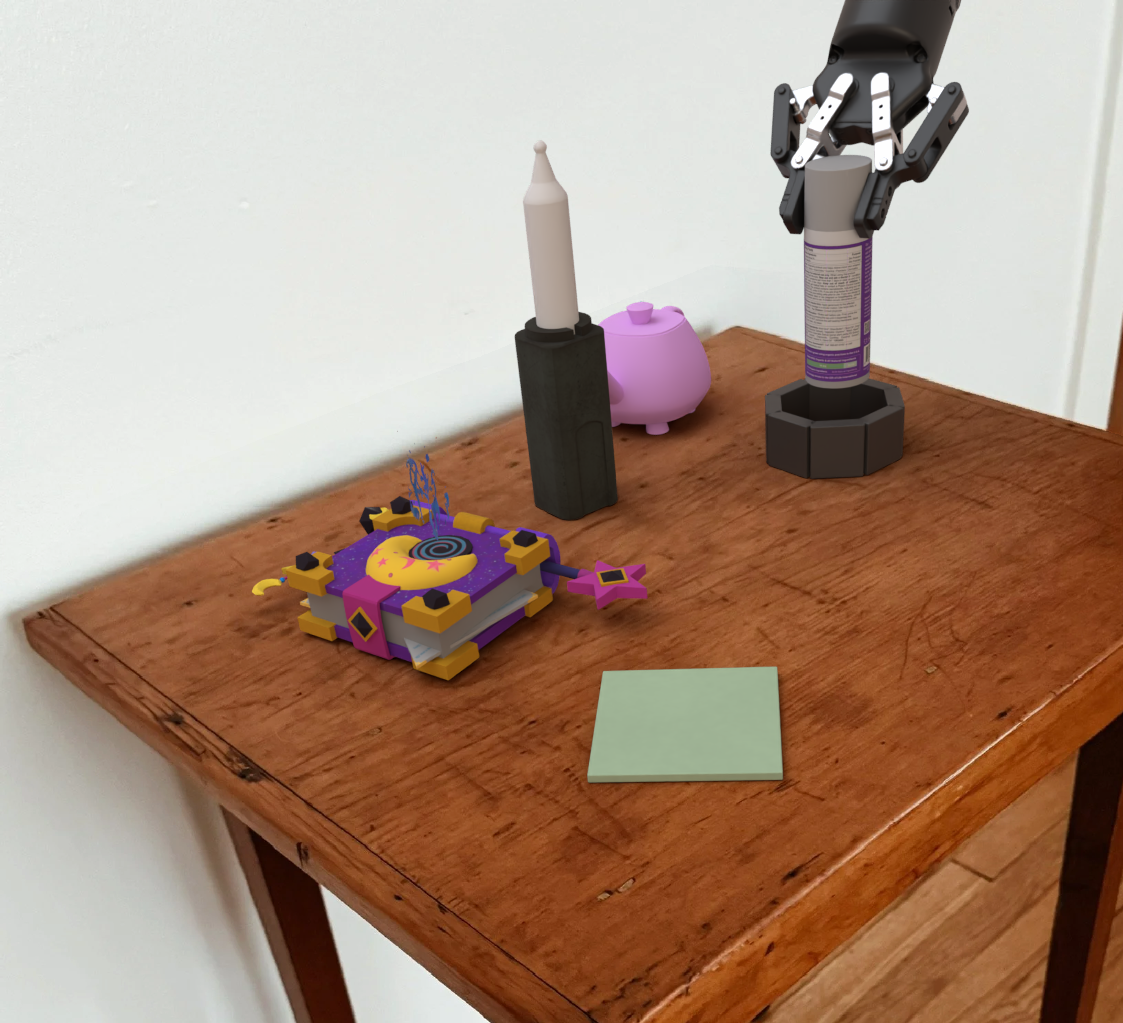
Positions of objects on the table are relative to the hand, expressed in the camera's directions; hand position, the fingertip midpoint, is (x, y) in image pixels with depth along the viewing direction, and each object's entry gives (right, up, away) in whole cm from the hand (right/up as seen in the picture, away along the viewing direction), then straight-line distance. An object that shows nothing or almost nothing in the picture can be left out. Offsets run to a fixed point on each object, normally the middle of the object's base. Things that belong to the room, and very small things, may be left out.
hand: (826, 229), depth 89 cm
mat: (-11, -33, -18) cm, 39 cm away
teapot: (-11, -9, +19) cm, 24 cm away
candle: (-17, -18, +8) cm, 26 cm away
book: (-25, -27, -5) cm, 37 cm away
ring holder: (+3, -13, +10) cm, 17 cm away
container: (+2, -8, +7) cm, 11 cm away
